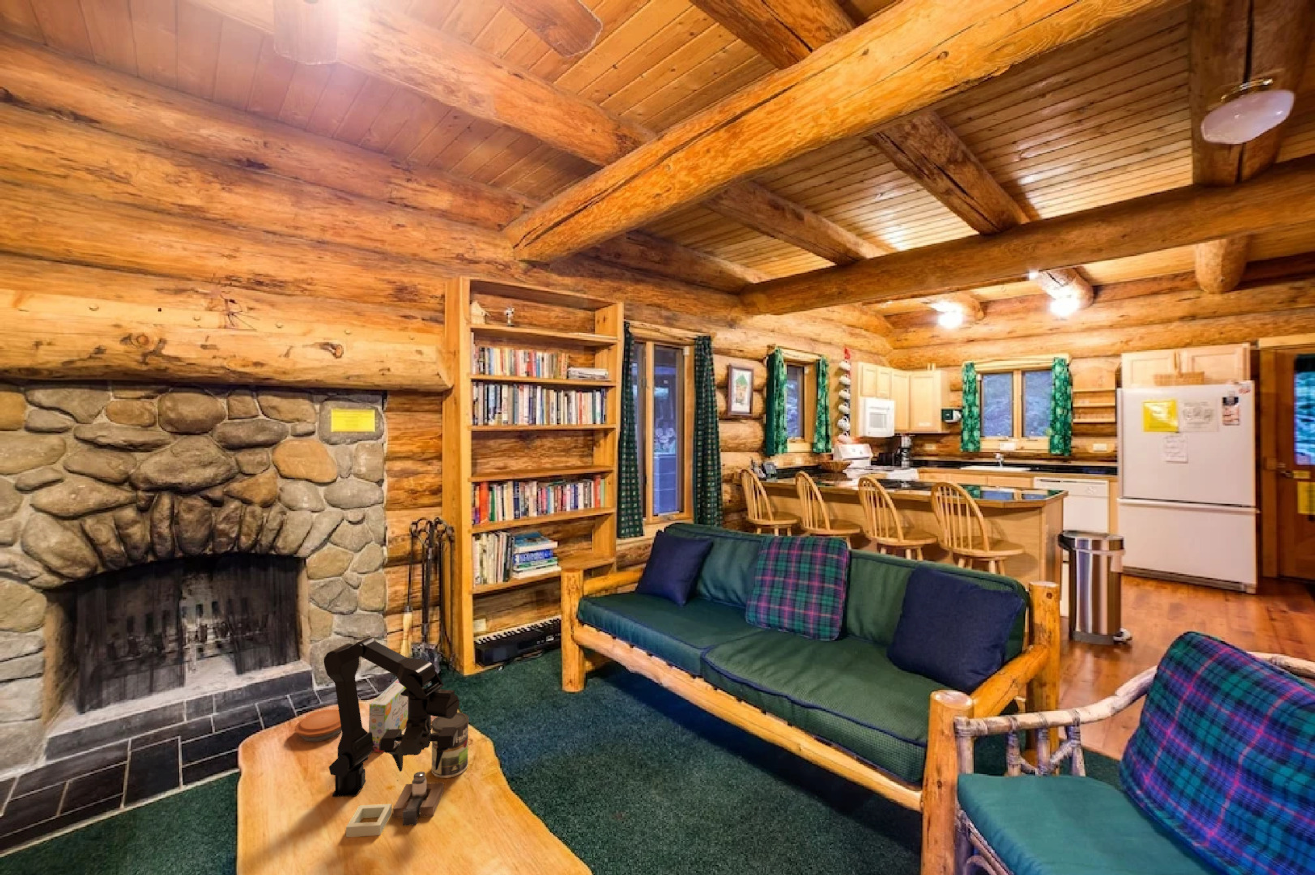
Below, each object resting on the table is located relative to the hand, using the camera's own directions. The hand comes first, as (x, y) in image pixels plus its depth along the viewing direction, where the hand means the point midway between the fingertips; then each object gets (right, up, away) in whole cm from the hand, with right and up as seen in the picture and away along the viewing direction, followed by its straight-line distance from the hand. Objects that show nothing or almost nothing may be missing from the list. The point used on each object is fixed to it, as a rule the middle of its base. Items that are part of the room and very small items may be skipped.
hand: (418, 770), depth 152 cm
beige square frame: (-9, -9, -8) cm, 15 cm away
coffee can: (+2, -9, +17) cm, 19 cm away
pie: (-46, -8, +35) cm, 58 cm away
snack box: (-23, -8, +34) cm, 42 cm away
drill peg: (0, -9, 0) cm, 9 cm away
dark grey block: (+1, -9, -5) cm, 11 cm away
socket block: (0, -9, 0) cm, 9 cm away
